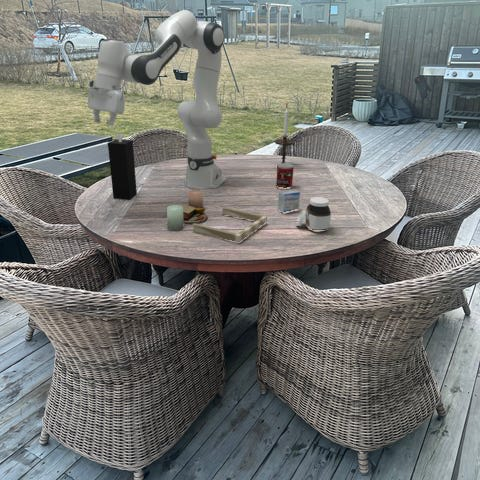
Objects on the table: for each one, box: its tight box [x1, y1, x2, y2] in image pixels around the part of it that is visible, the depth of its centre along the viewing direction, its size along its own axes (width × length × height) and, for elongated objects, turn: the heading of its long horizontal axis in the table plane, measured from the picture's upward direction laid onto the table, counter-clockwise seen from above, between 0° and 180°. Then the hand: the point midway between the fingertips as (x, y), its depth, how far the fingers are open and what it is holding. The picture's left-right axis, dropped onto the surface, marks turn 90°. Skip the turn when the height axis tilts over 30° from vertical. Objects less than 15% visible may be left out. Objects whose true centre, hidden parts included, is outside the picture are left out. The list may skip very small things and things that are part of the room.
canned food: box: [275, 162, 294, 188], centre depth 214 cm, size 8×8×11 cm
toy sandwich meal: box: [179, 203, 208, 225], centre depth 177 cm, size 12×14×5 cm
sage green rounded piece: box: [166, 204, 185, 232], centre depth 167 cm, size 6×6×8 cm
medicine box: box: [277, 189, 301, 212], centre depth 185 cm, size 8×4×9 cm, turn 118°
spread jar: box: [296, 196, 332, 231], centre depth 168 cm, size 12×11×12 cm
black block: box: [107, 133, 138, 201], centre depth 193 cm, size 8×8×28 cm
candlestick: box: [274, 103, 296, 163], centre depth 243 cm, size 11×11×35 cm
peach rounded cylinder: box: [188, 189, 204, 208], centre depth 187 cm, size 6×6×7 cm
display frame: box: [192, 206, 268, 242], centre depth 169 cm, size 22×20×3 cm
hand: (103, 124), depth 165 cm, fingers open, 8 cm apart
